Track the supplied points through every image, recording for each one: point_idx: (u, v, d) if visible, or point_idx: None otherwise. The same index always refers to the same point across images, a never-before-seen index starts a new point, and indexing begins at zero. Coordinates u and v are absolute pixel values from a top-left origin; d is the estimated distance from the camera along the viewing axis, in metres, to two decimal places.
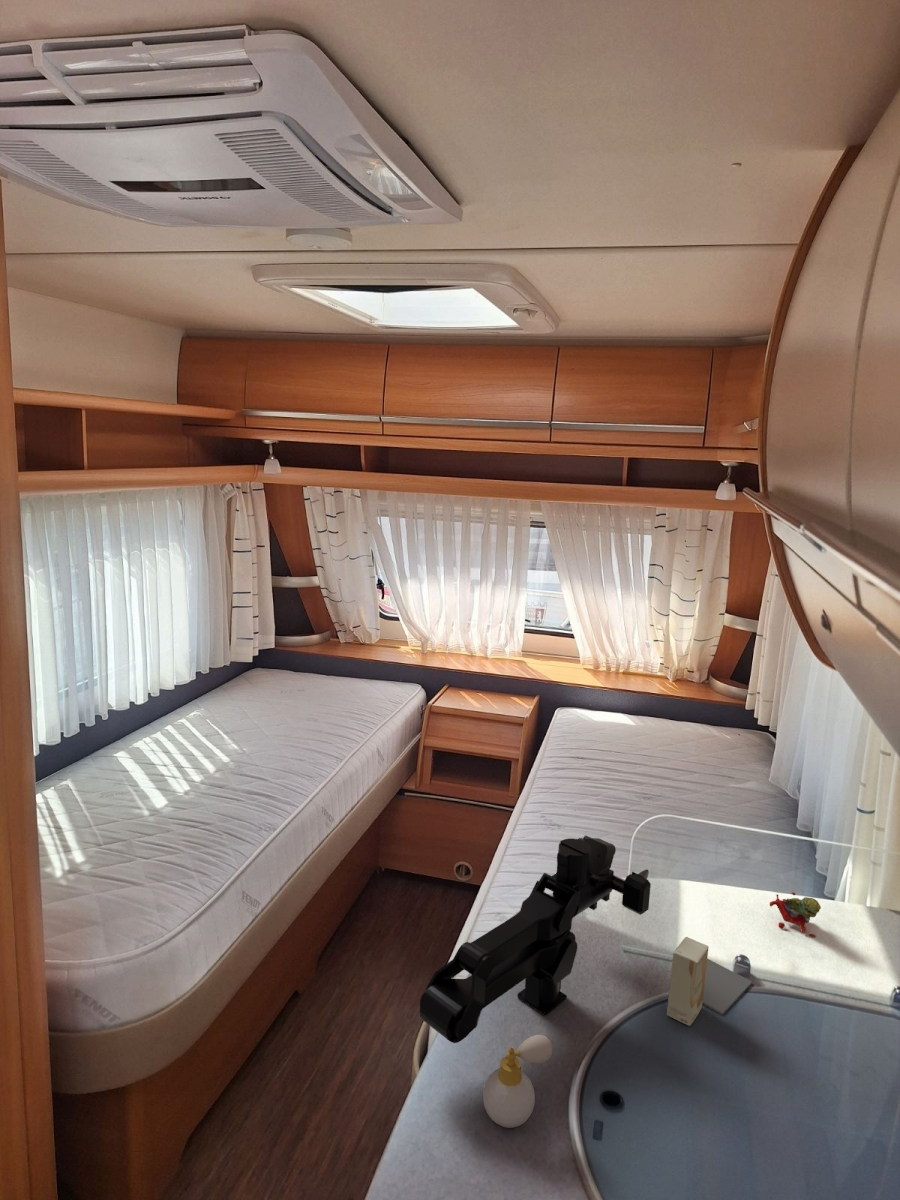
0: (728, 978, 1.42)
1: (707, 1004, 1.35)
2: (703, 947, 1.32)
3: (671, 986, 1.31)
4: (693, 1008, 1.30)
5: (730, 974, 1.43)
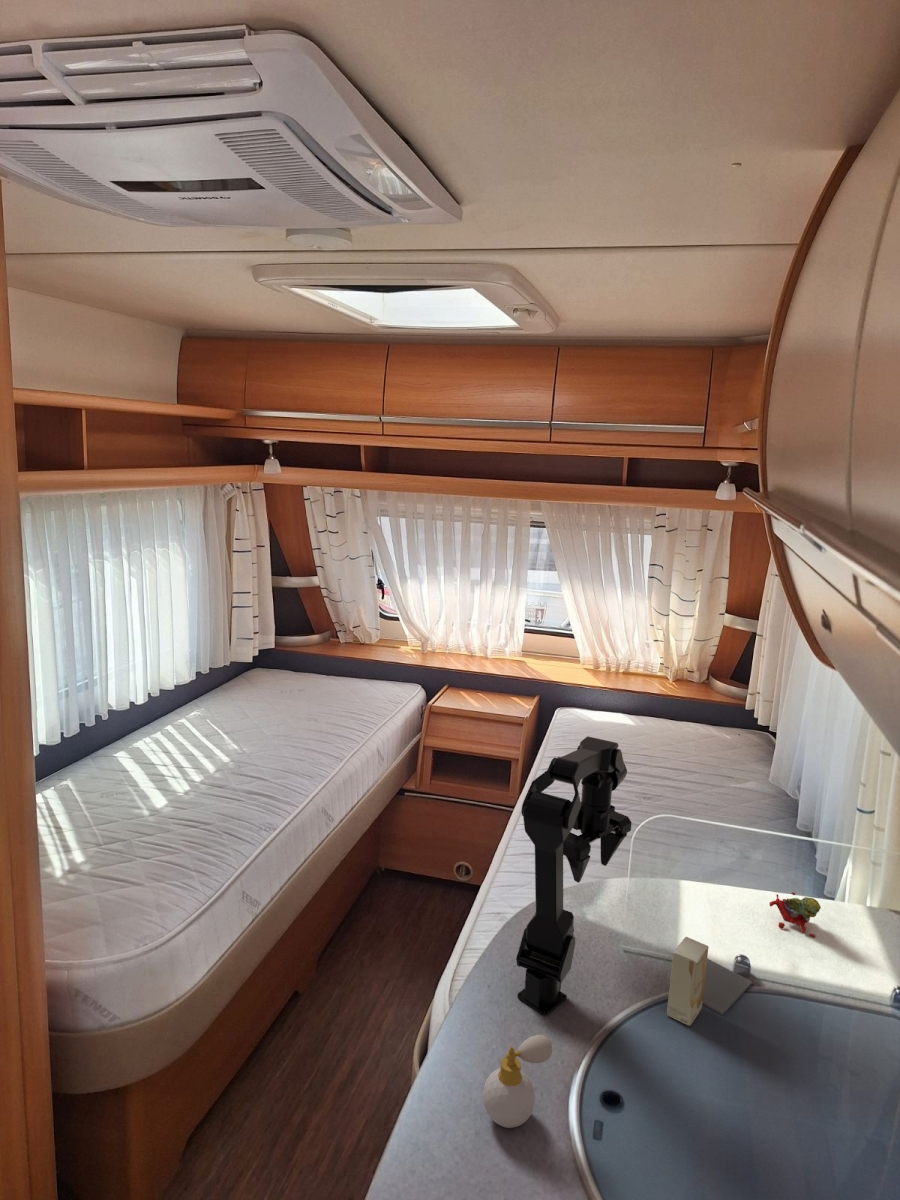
0: (728, 978, 1.42)
1: (707, 1004, 1.35)
2: (703, 947, 1.32)
3: (671, 986, 1.31)
4: (693, 1008, 1.30)
5: (730, 974, 1.43)
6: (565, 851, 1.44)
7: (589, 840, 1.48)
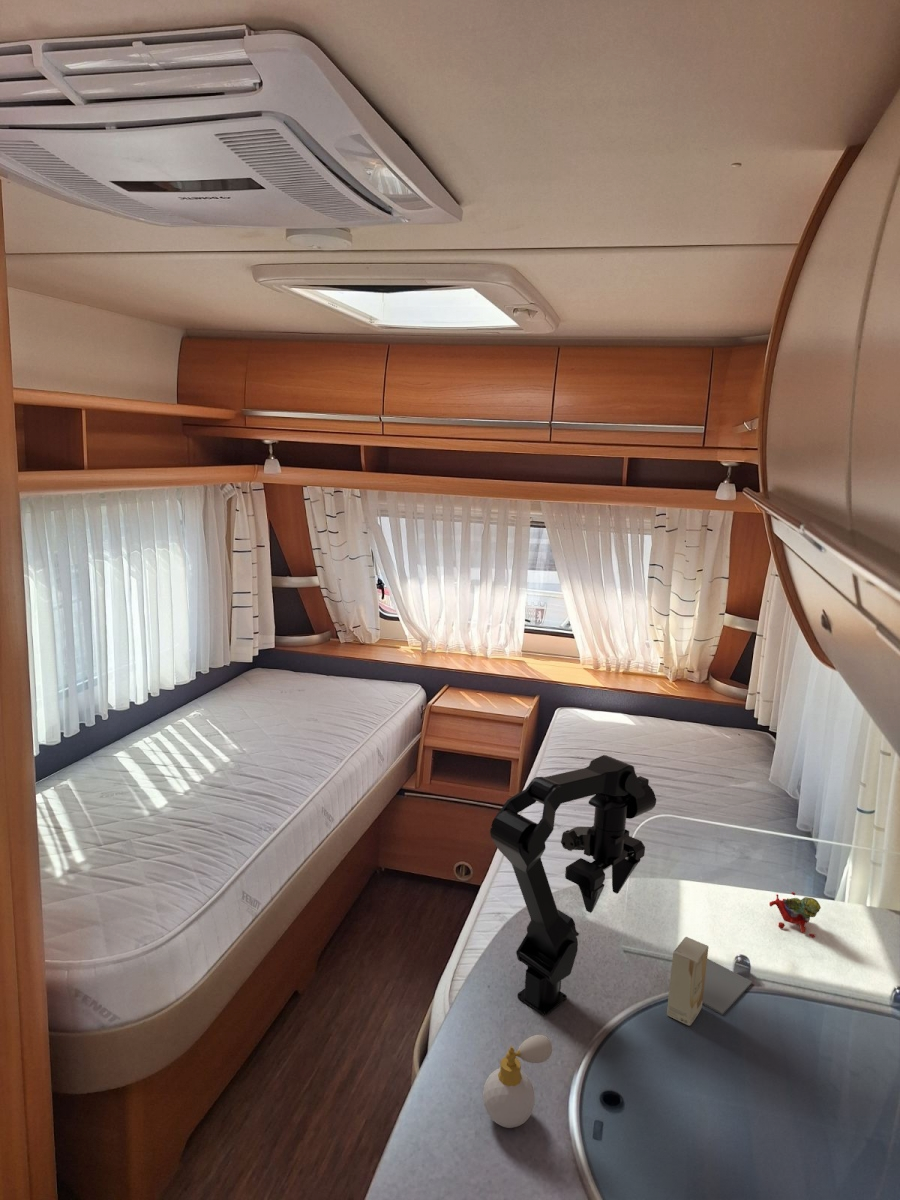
0: (728, 978, 1.42)
1: (707, 1004, 1.35)
2: (703, 947, 1.32)
3: (671, 986, 1.31)
4: (693, 1008, 1.30)
5: (730, 974, 1.43)
6: (578, 880, 1.35)
7: (602, 867, 1.38)
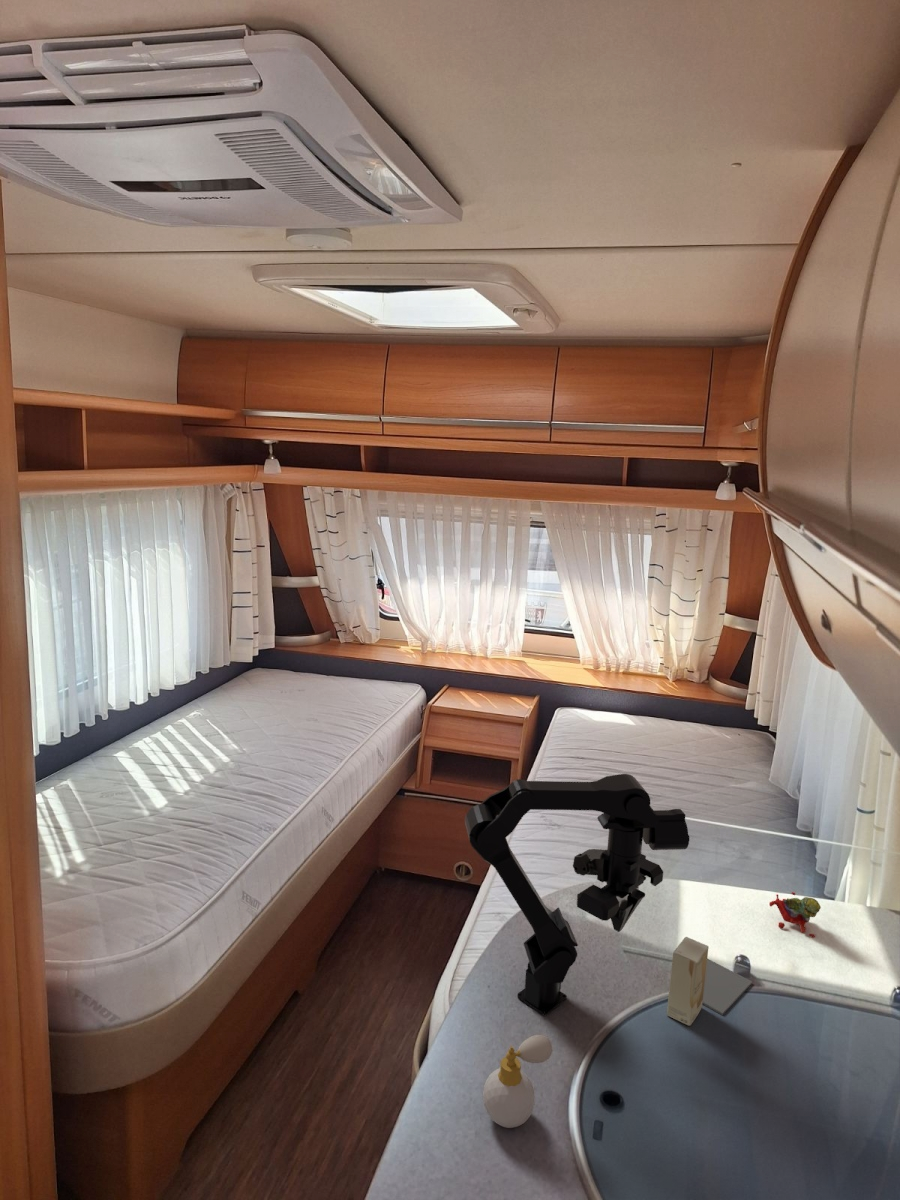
0: (728, 978, 1.42)
1: (707, 1004, 1.35)
2: (703, 947, 1.32)
3: (671, 986, 1.31)
4: (693, 1008, 1.30)
5: (730, 974, 1.43)
6: (590, 909, 1.26)
7: None
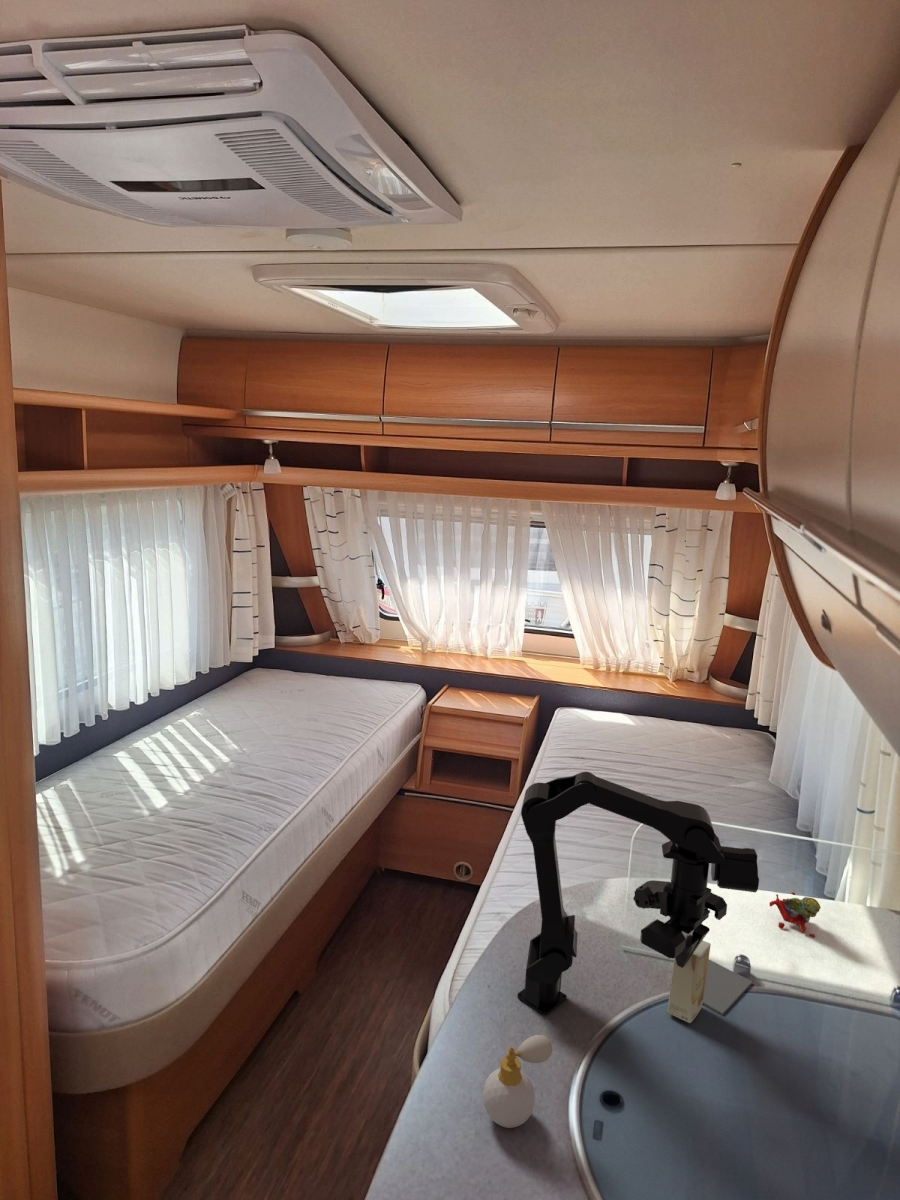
0: (728, 978, 1.42)
1: (707, 1004, 1.35)
2: (705, 944, 1.33)
3: (673, 982, 1.31)
4: (694, 1005, 1.30)
5: (730, 974, 1.43)
6: (656, 945, 1.21)
7: None
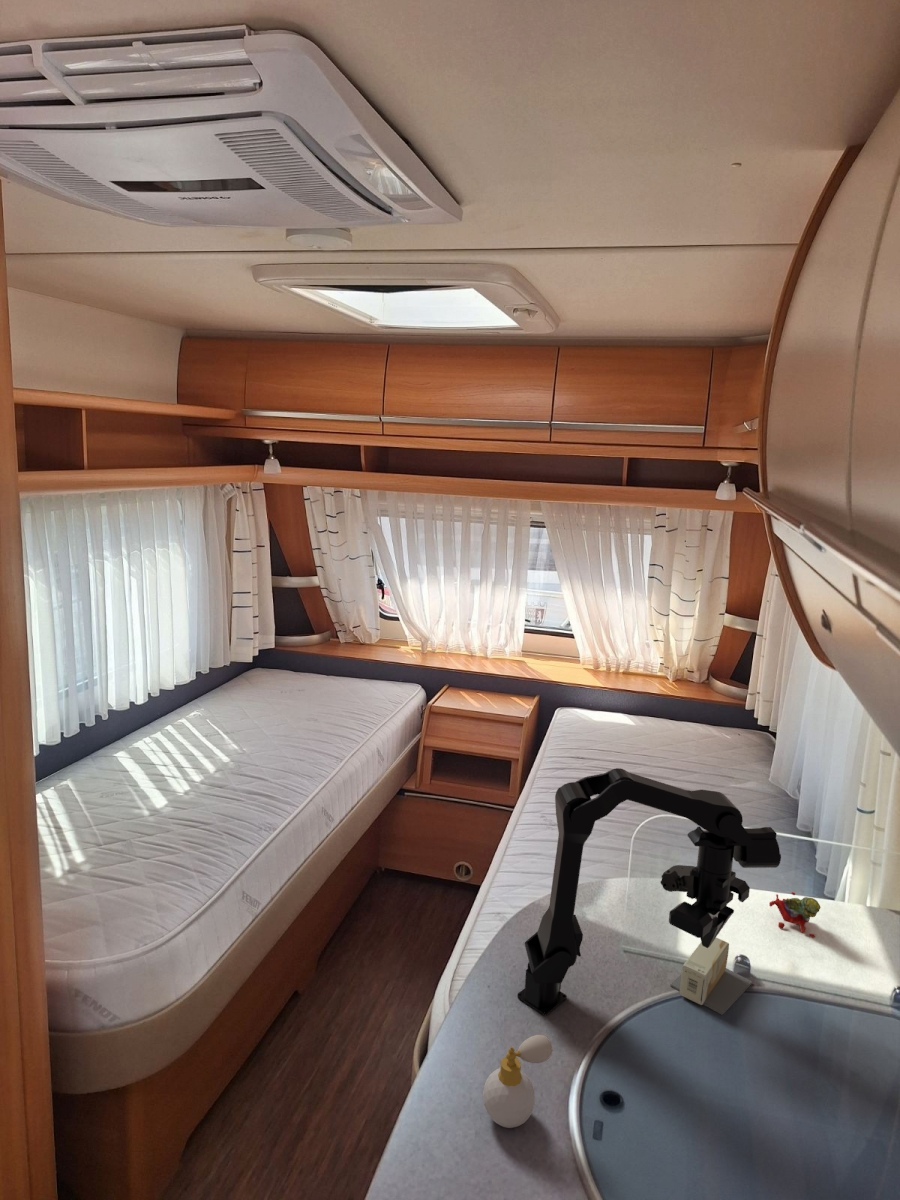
0: (728, 978, 1.42)
1: (707, 1004, 1.35)
2: None
3: (696, 950, 1.40)
4: (711, 971, 1.36)
5: (730, 974, 1.43)
6: (684, 926, 1.27)
7: None
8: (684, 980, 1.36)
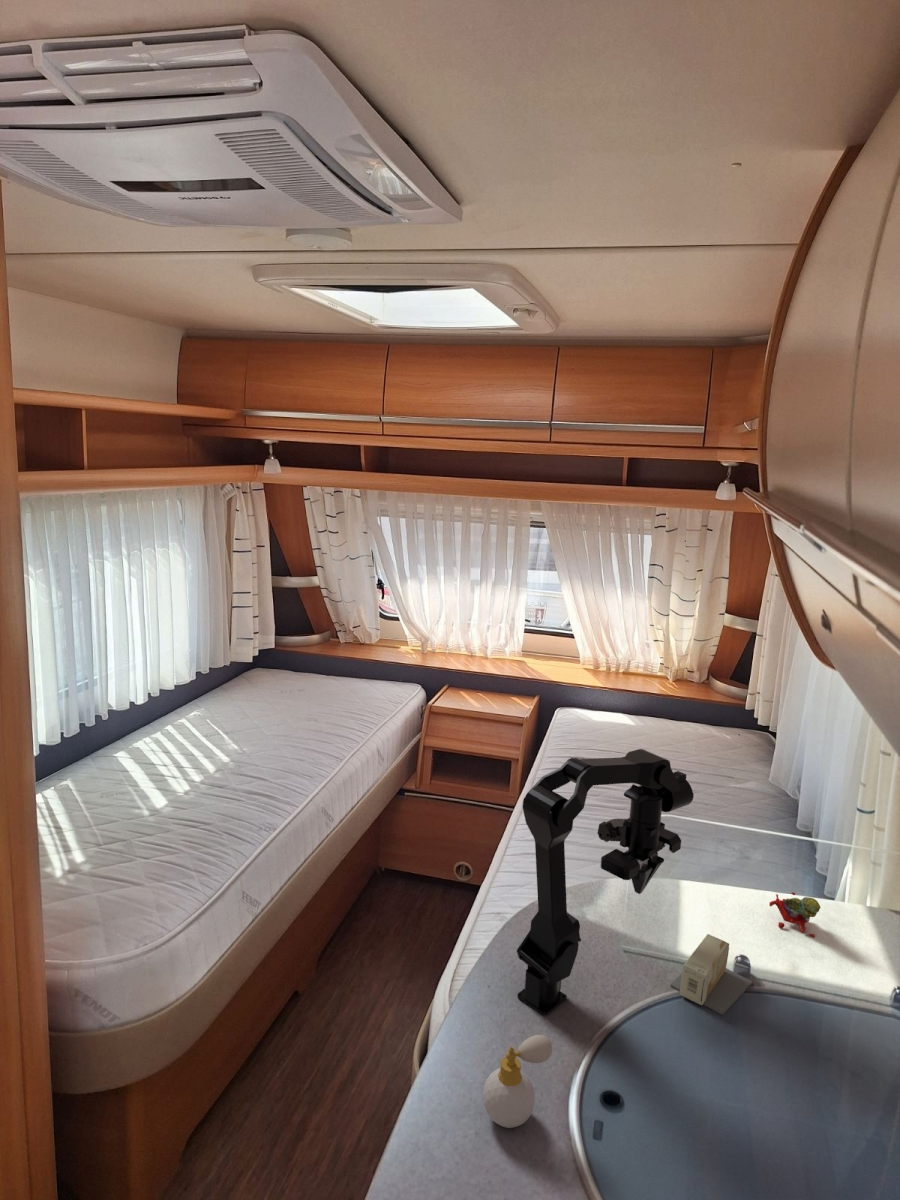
0: (728, 978, 1.42)
1: (707, 1004, 1.35)
2: None
3: (697, 950, 1.40)
4: (711, 971, 1.36)
5: (730, 974, 1.43)
6: (613, 869, 1.39)
7: None
8: (684, 980, 1.36)
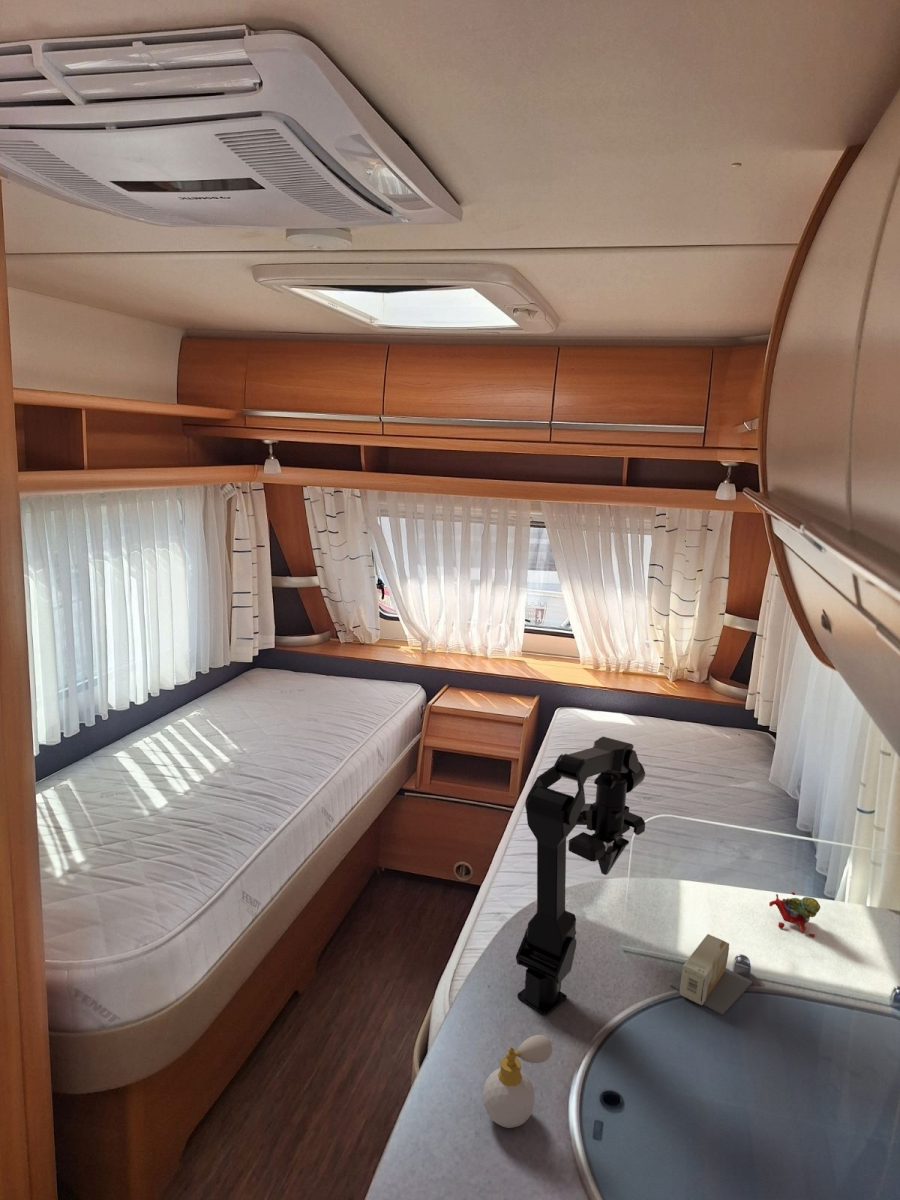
0: (728, 978, 1.42)
1: (707, 1004, 1.35)
2: None
3: (697, 950, 1.40)
4: (711, 971, 1.36)
5: (730, 974, 1.43)
6: (580, 851, 1.44)
7: None
8: (684, 980, 1.36)
